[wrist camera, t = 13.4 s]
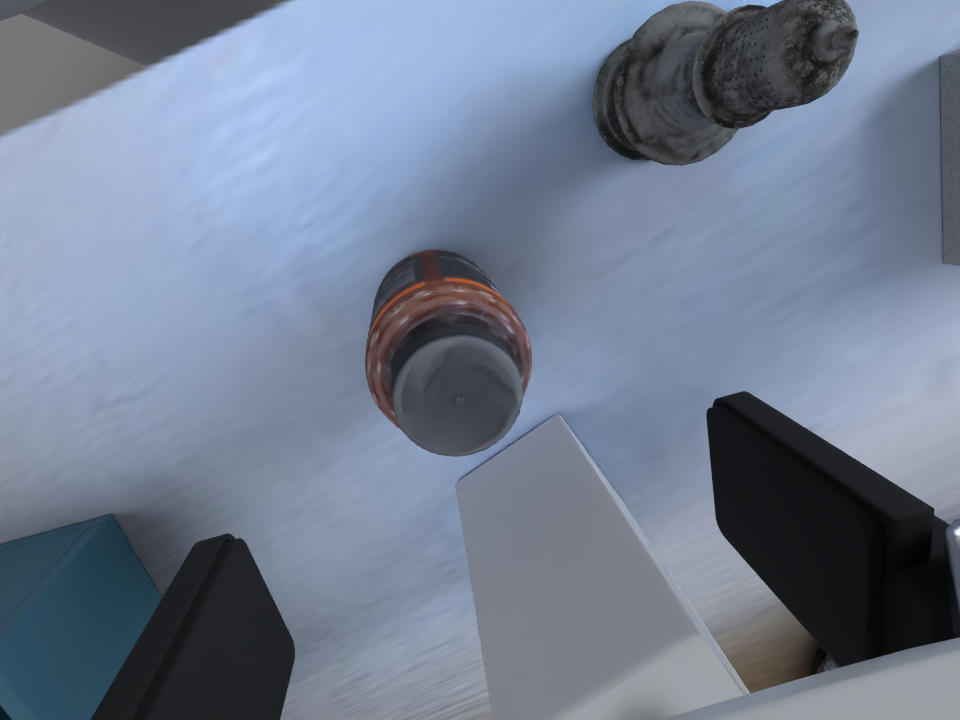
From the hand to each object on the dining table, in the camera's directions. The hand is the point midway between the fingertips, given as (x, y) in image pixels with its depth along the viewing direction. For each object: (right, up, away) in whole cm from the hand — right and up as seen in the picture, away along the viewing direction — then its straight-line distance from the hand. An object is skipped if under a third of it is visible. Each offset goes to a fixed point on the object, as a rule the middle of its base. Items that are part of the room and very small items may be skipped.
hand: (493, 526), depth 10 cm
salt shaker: (+8, +15, +14) cm, 22 cm away
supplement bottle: (-2, +6, +16) cm, 17 cm away
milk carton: (+3, -4, +20) cm, 21 cm away
